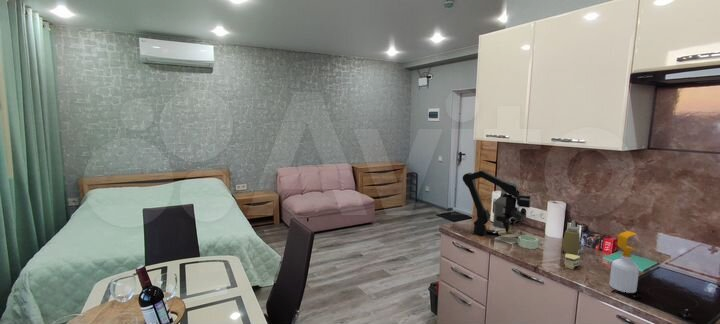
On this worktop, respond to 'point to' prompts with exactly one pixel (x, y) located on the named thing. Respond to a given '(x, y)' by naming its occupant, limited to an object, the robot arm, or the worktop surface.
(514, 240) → the mat
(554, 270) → the worktop surface
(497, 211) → the liquor
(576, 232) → the squeeze bottle
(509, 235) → the lid
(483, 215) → the robot arm
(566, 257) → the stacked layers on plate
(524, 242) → the bowl
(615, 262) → the soap bottle
